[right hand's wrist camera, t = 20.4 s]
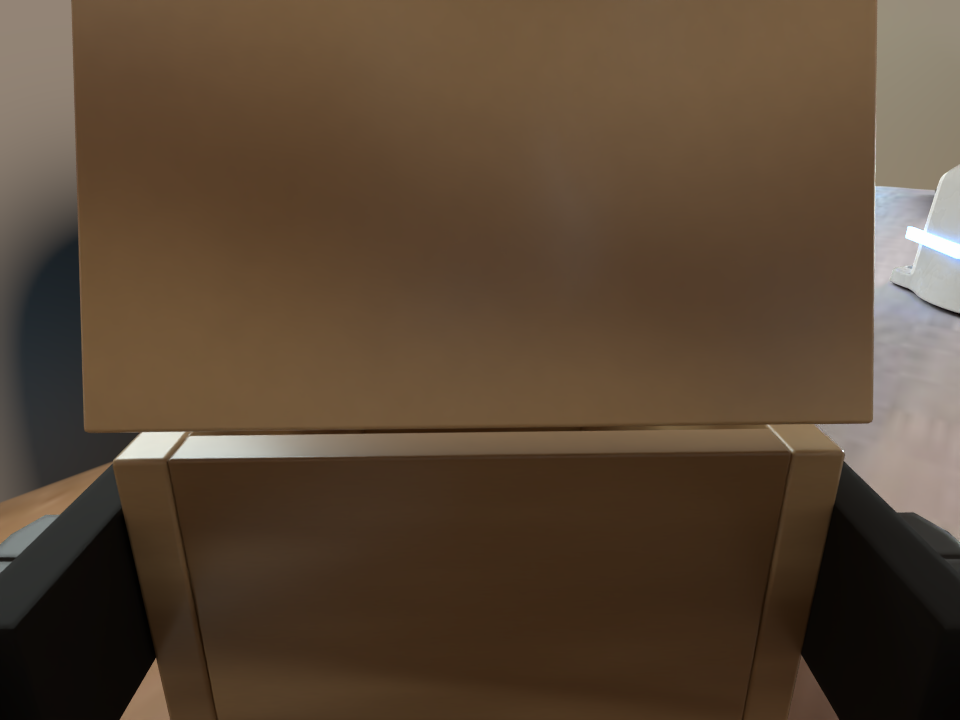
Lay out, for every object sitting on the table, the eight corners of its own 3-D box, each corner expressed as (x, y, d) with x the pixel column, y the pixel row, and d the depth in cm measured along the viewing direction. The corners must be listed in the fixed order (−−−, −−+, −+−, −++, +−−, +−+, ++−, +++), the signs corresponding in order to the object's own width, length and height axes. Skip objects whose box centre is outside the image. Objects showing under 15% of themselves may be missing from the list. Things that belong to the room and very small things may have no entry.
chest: (349, 452, 27) (331, 237, 24) (595, 450, 27) (610, 235, 24) (204, 887, 12) (107, 461, 9) (756, 873, 12) (849, 451, 9)
